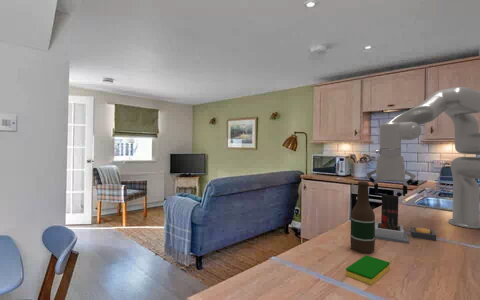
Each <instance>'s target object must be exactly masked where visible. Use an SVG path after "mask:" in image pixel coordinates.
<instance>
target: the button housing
mask: <svg viewBox="0 0 480 300" xmlns="http://www.w3.org/2000/svg"><path fill="white" fill-rule="evenodd" d="M415 228H418V227H417V226H416V227H415V226H410V231H409V232H410V236H411V238H414V239H421V240H427V241H433V242H434V241H435V242H437V233H436V232H435V229H433V228H428V229H429V230H430V233H422V232H415Z"/></svg>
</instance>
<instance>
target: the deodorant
mask: <svg viewBox="0 0 480 300" xmlns="http://www.w3.org/2000/svg"><path fill="white" fill-rule="evenodd" d="M380 211H381V218H380V221H381V222H380V223H381V228H382V229H389V230H396V231H398V225H399V196H397V195H392V194H382V195H381V210H380Z"/></svg>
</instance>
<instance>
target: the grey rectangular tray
mask: <svg viewBox="0 0 480 300" xmlns="http://www.w3.org/2000/svg"><path fill="white" fill-rule="evenodd" d="M375 240H383V241H387V242H388V241H389V242H395V243H400V244H401V243H402V244H406V245H407V244H409V243H410V242H409V241H410V240H409V236H408V231H407V230H404V225H402V224H398V231H396V230H389V229H382V228H381V222H379V221H375Z"/></svg>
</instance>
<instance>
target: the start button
mask: <svg viewBox="0 0 480 300" xmlns="http://www.w3.org/2000/svg"><path fill="white" fill-rule="evenodd" d="M429 229H430V228H426V227H420V226H419V227H417V228H415V232H422V233H430V230H429Z"/></svg>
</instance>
